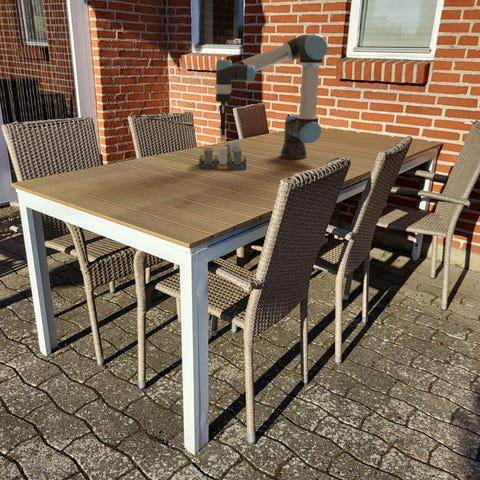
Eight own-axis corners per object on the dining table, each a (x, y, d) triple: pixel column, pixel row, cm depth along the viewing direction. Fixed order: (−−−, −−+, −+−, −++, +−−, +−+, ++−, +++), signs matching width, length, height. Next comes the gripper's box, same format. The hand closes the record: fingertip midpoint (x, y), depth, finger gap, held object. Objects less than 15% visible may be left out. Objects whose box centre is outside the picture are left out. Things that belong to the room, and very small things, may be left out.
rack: (245, 164, 255) (246, 147, 251) (246, 170, 242) (246, 152, 239) (200, 163, 254) (200, 146, 251) (198, 169, 242) (198, 151, 238)
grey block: (227, 163, 252) (227, 146, 249) (227, 166, 244) (227, 149, 241) (219, 163, 252) (219, 146, 248) (219, 166, 244) (219, 149, 241)
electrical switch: (231, 160, 263) (230, 143, 260) (224, 159, 266) (223, 143, 263) (242, 157, 270) (241, 141, 267) (235, 157, 273) (234, 141, 270)
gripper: (216, 92, 241) (216, 139, 250) (215, 94, 229) (215, 143, 237) (231, 92, 241) (230, 139, 250) (230, 94, 229) (230, 143, 238)
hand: (222, 141), depth 244 cm, fingers closed
